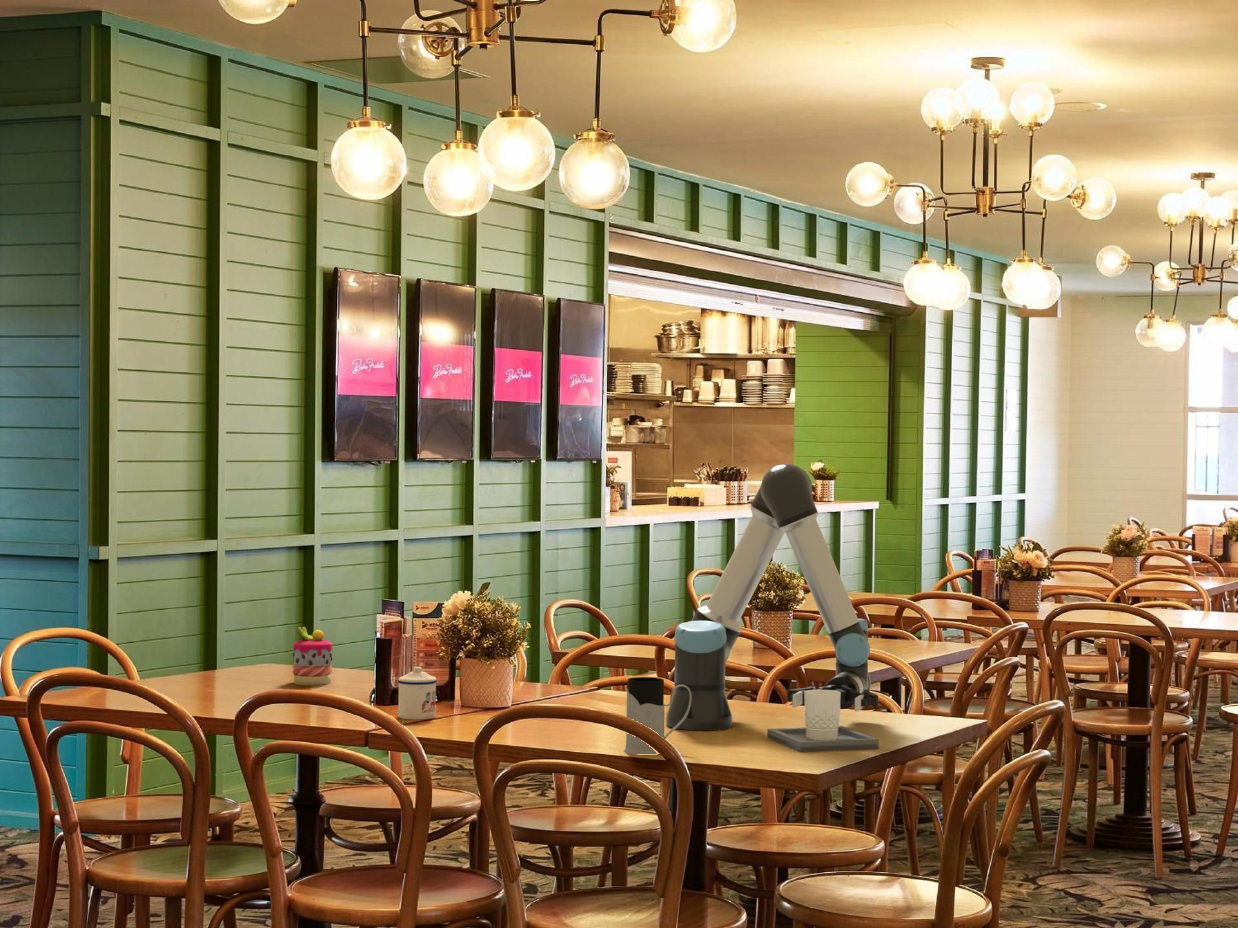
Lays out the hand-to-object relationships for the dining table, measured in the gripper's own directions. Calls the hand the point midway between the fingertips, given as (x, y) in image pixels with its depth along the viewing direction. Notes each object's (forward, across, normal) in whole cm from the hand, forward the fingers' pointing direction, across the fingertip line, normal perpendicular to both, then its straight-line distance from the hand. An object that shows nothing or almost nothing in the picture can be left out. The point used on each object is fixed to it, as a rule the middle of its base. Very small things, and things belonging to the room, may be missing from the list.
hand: (825, 703), depth 344 cm
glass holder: (+25, +30, -9) cm, 40 cm away
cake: (-39, +148, -9) cm, 153 cm away
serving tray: (+1, 0, -8) cm, 9 cm away
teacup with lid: (+2, +96, -9) cm, 96 cm away
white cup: (+1, 0, -8) cm, 8 cm away
